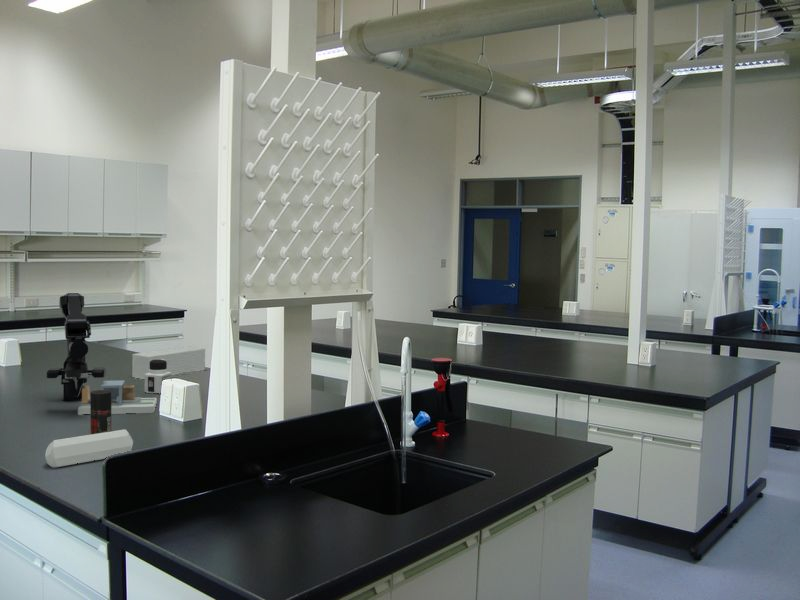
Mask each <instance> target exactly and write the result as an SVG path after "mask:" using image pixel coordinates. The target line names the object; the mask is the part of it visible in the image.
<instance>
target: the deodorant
mask: <svg viewBox="0 0 800 600" xmlns="http://www.w3.org/2000/svg"><path fill="white" fill-rule="evenodd" d="M89 416H90V435H91V434H98V433H104V432H111V431H112V414H111V391H109V390H101V389H100V390H99V389H96V390H92V391H90V415H89Z"/></svg>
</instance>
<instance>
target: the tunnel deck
mask: <svg viewBox="0 0 800 600" xmlns="http://www.w3.org/2000/svg"><path fill="white" fill-rule="evenodd" d="M125 382H126V381H125V380H123V379H122V380H103V382H102V383H101V385H100V390H109V391H111V399H117V396H118V394H119V402H116V401H111V415H124V414H126V413H136V414H155V410H156V408H155V407H157V405H156V404H158V403H157V401H158V400H157V397H141V400H140V402H122V386H123V385H126V384H125ZM82 414H90V402H88V403H82V402H81V404H80V405H79V406H78V408H77V415H78V416H83V415H82ZM126 415H127V414H126Z"/></svg>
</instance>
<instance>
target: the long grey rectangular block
mask: <svg viewBox="0 0 800 600" xmlns="http://www.w3.org/2000/svg"><path fill="white" fill-rule="evenodd" d="M131 356H132V360H131V362H132V367H131V368H132V370H131V371H132V373H131V374H132V377H135V378H134V379H136V378H140V379H139V380H141V379H145V374H146V373H149V372H150V361H152V360H155V359H163V360H165V361H167V371H166V372H171V375H175V374H179V373H183V372H191V371H200V370H205V371H206V348H203V347H198V346H196V347H195V346H189V345H188V346H181V347H175V348H168V349H161V350H153V351H145V352H139V353H132V354H131ZM132 377H131V378H132Z"/></svg>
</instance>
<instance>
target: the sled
mask: <svg viewBox="0 0 800 600" xmlns="http://www.w3.org/2000/svg"><path fill="white" fill-rule="evenodd" d="M83 386H84V387H83V388H82V399H81V404H82V403H88V402H90V392H91V386H90V385H83ZM141 398H142V396H138V397H137V396H135V398H134V400H122V402H140V400H141ZM111 401H116V402H119V394H118V396H117V399H111Z"/></svg>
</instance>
